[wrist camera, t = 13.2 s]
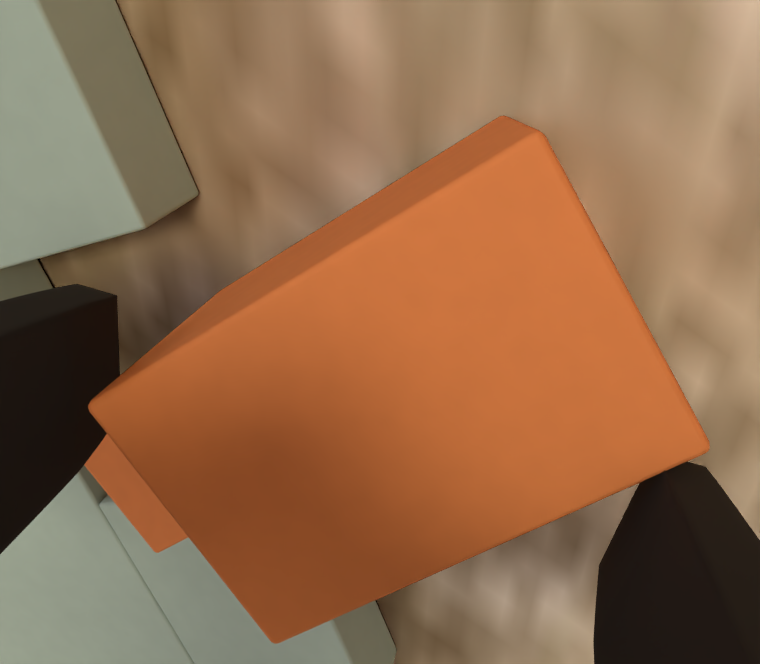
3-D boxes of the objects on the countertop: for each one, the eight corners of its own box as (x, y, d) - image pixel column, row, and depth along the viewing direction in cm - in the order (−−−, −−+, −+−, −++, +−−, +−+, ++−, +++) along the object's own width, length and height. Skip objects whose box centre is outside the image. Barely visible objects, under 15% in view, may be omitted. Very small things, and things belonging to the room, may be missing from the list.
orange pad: (614, 313, 12) (715, 452, 8) (198, 529, 15) (76, 735, 10) (504, 112, 11) (541, 127, 7) (79, 377, 14) (-115, 526, 9)
